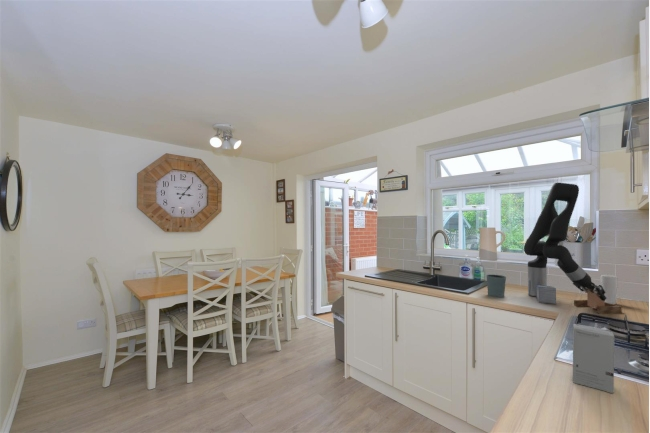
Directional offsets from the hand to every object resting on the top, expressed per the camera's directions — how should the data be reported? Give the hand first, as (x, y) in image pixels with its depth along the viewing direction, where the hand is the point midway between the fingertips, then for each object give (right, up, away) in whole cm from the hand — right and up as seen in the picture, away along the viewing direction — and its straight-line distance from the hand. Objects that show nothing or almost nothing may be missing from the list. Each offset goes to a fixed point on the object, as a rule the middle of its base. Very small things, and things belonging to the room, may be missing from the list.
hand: (599, 298), depth 149 cm
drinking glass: (+16, -6, +11) cm, 20 cm away
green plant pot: (-36, -7, +28) cm, 46 cm away
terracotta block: (-2, -5, 0) cm, 5 cm away
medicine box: (-17, -6, +13) cm, 22 cm away
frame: (-2, -6, 0) cm, 6 cm away
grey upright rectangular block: (-67, -4, -70) cm, 97 cm away
